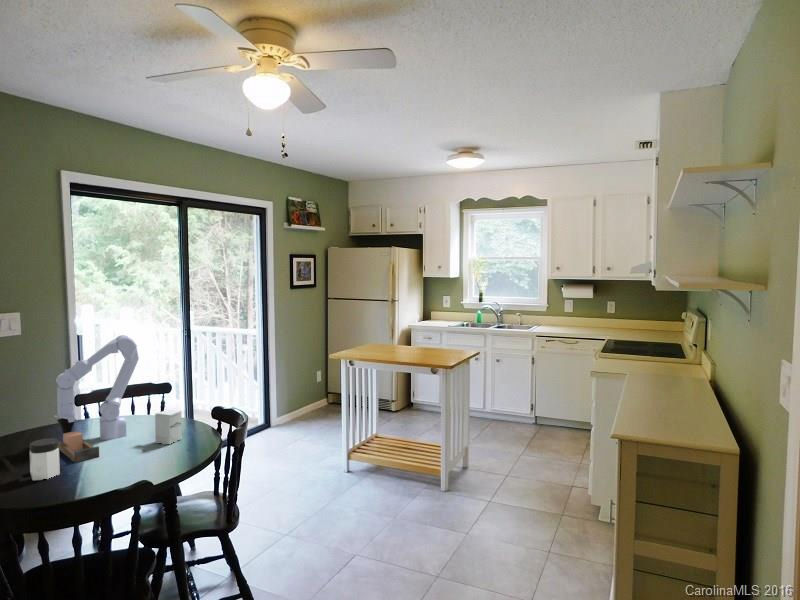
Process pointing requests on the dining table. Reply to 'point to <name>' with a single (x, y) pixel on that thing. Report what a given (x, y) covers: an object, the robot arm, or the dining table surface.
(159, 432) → the supplement box
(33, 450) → the jar
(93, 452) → the brown wooden tray
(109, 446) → the dining table surface
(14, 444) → the dining table surface
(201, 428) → the dining table surface
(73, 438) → the terracotta block
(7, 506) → the dining table surface
